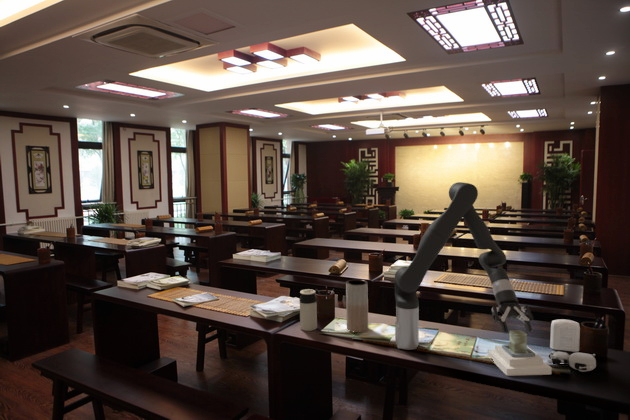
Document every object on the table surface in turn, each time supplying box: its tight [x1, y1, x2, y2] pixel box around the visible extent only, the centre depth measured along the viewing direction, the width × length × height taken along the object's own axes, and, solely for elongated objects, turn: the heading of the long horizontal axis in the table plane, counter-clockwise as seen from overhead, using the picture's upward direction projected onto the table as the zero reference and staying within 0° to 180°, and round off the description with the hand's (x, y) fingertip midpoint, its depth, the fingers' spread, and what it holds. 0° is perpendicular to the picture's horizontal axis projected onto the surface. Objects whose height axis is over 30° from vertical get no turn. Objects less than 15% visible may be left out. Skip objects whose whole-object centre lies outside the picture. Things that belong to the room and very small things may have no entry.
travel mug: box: [299, 288, 318, 332], centre depth 197 cm, size 8×8×18 cm
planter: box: [345, 278, 369, 333], centre depth 194 cm, size 10×10×23 cm
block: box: [508, 329, 528, 354], centre depth 155 cm, size 4×4×8 cm
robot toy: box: [546, 350, 597, 373], centre depth 154 cm, size 12×4×15 cm
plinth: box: [487, 344, 552, 377], centre depth 155 cm, size 16×16×6 cm
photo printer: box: [549, 318, 581, 353], centre depth 167 cm, size 10×4×12 cm, turn 72°
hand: (518, 332), depth 155 cm, fingers open, 8 cm apart
